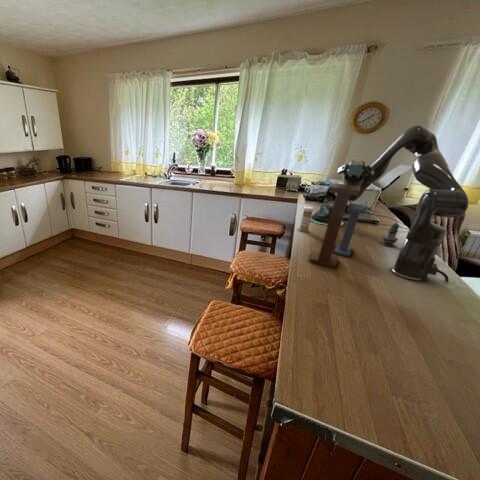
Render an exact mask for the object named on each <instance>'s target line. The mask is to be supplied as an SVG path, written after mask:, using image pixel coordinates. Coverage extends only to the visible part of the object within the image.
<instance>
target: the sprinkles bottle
mask: <svg viewBox="0 0 480 480" xmlns="http://www.w3.org/2000/svg"><path fill="white" fill-rule="evenodd" d="M313 212H314V207H313V206H304V207H303V211H302V216H301V220H300V225H299V228H298V230H299V231H300V232H302V233H303V232H304V233H306V232H308V231H309V228H310V224H311V216H312V215H313Z"/></svg>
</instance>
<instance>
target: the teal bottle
mask: <svg viewBox="0 0 480 480" xmlns="http://www.w3.org/2000/svg"><path fill="white" fill-rule="evenodd" d="M350 162H351V164H350V163H349V165H350V167H349V170H348V173H347V174H349V175H360V173H361V170H362V167H363V164H364V162H365V161H364V162H362V161H355V162H353V161H350Z"/></svg>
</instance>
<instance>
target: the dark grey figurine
mask: <svg viewBox="0 0 480 480" xmlns="http://www.w3.org/2000/svg"><path fill="white" fill-rule="evenodd" d="M399 227H400V225H399V224H398V222H397V221H395V223H392V224H391V225H390V228H389V229H388V232H387V234H385V235H382V242H380V244H381V245H382V246H385V247H389V248H395V244H396V242H398V240H399V239H398V238H397V233H398V232H399V231H398V230H399Z"/></svg>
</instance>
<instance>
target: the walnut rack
mask: <svg viewBox="0 0 480 480" xmlns="http://www.w3.org/2000/svg"><path fill="white" fill-rule="evenodd" d="M360 188H361V186H354V185H345V184H344V183H332V184H331V186H330V187H329V190H328V193H333V194H336V195H335V198H334V202H333V205H332V206H333V209H332V212H331V216H330V219H329V223H328V225H326V226H327V227H326V230H325V234H324V236H323V240H322V243H321V248H320V251H319V252H317V251H314V252H313V254H312V255H311V257H310V261H309V262H310V263H312V264H317V265H319V266H320V265H321V266H324V267H327V268H331V269H336V266H337V263H338V259H339V257H338V256H334V255H332V254H333V252H334V248H335V246H336V241H337V239H338V234H339V232H340V228H341V226H342V225H341V222H343V220H344V219H343V218H344V216H345V212H346V210H347V209H346V208H347V207H348V206H347V205H348V204H349V203H348V202H349V201H348V199H349V196H350V195H356V196H358V194H359V191H360Z"/></svg>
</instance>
